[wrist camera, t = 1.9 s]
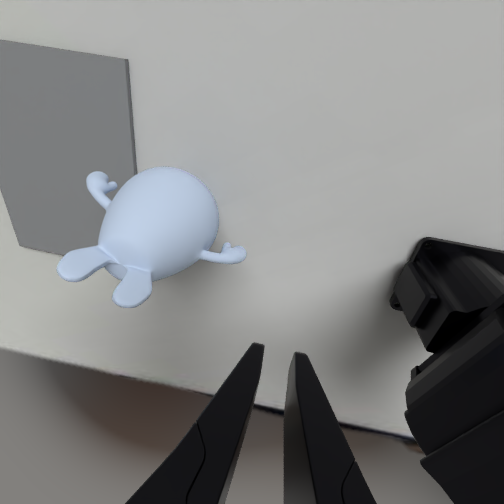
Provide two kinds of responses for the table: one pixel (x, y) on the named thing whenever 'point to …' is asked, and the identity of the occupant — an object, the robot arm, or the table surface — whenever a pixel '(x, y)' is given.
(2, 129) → the mat
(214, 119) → the table surface
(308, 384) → the robot arm
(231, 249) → the toy figure
